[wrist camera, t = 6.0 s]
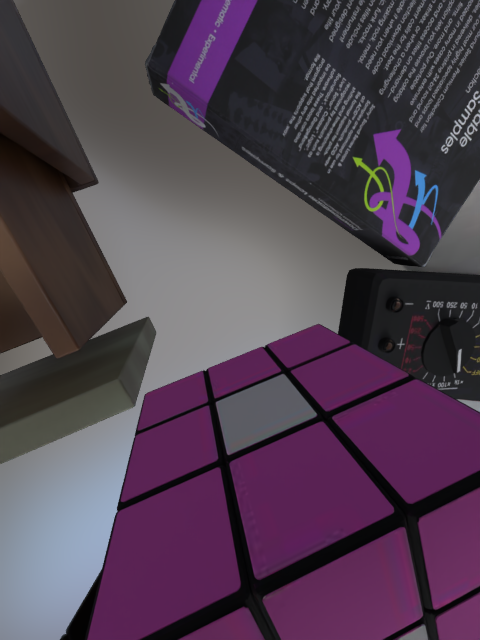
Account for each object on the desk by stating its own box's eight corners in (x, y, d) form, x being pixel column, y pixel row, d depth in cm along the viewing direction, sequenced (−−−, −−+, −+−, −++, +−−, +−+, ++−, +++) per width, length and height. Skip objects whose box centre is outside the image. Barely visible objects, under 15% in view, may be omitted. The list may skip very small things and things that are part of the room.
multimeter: (486, 274, 23) (565, 281, 18) (433, 469, 28) (485, 515, 23) (344, 266, 20) (393, 271, 16) (311, 484, 25) (341, 539, 20)
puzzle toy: (211, 525, 10) (249, 871, 4) (143, 392, 8) (65, 690, 3) (354, 459, 10) (544, 689, 5) (319, 321, 9) (553, 445, 3)
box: (150, 99, 16) (391, 268, 21) (140, 59, 12) (429, 272, 18) (275, -171, 14) (505, 90, 19) (302, -303, 11) (572, 57, 16)
